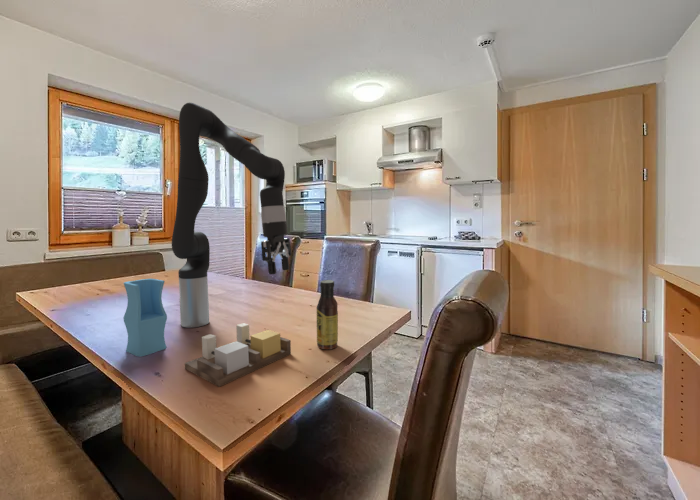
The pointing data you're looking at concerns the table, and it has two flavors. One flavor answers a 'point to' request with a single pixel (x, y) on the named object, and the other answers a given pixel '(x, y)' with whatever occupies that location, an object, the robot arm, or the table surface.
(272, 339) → the ochre block
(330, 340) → the sauce bottle
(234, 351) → the white block with handle
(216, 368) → the lane rack
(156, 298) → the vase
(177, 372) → the table surface
